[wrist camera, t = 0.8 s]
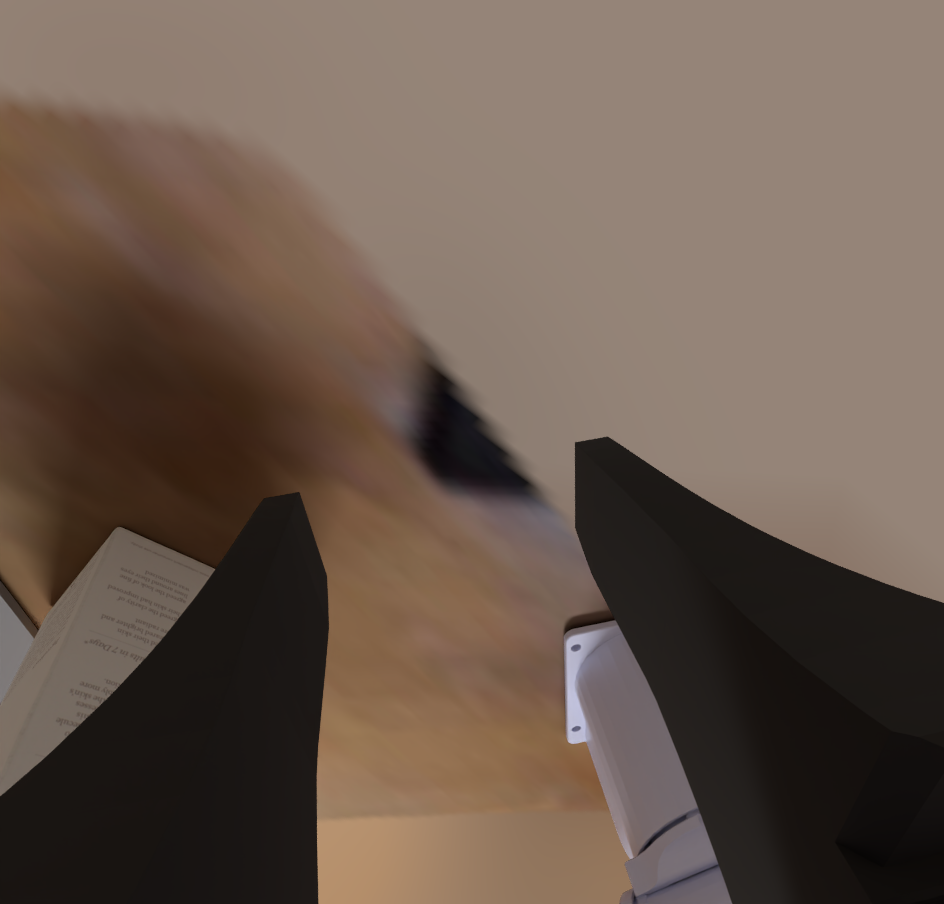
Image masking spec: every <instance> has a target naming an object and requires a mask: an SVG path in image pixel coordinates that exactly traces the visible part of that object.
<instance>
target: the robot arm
mask: <svg viewBox="0 0 944 904" xmlns="http://www.w3.org/2000/svg"><path fill="white" fill-rule="evenodd" d="M575 528H576V531H577V534H578V537H579V540H580V543H581V546H582V549H583V551H584V554H585V557H586V560H587V562H588V565H589V567H590V570H591V573H592V575H593V577H594V579H595V581H596V583H597V585H598V587H599V589H600V591H601V593H602V595H603V597H604V599H605V601H606V603H607V605H608V607H609V609H610V611H611V613H612V615H613V616H614V618H615V620H614V621H609V622H604V623H599V624H594V625H589V626H584V627H580V628H575V629H571V630H569V631H568V632H567V633H566V634H565V635H564V666H565V713H566V737H567V740H568V742H569V743H572V744H575V743H580V742H585V741H586V742H587V745H588V748H589V751H590V754H591V757H592V760H593V763H594V766H595V769H596V771H597V774H598V777H599V780H600V783H601V786H602V789H603V792H604V795H605V798H606V801H607V803H608V806H609V809H610V812H611V815H612V818H613V821H614V824H615V826H616V829H617V832H618V835H619V838H620V841H621V843H622V845H623V847H624V850H625V851H626V853H627V855H628V856H629V858H630V860H628V861H626V862H625V866H626V870H627V872H628V875H629V878H630V881H631V884H632V887H633V889H630V890H628V891H626V892H624V893H623V894H622V896H621V898H620V903H619V904H944V603H942V602H939V601H936V600H932V599H929V598H926V597H923V596H920V595H917V594H914V593H911V592H908V591H905V590H902V589H900V588H896V587H894V586H891V585H888V584H885V583H882V582H880V581H877V580H875V579H872V578H869V577H867V576H864V575H862V574H859V573H856V572H854V571H851V570H848V569H846V568H843V567H841V566H838V565H836V564H833V563H831V562H828V561H826V560H824V559H821V558H819V557H817V556H814V555H812V554H810V553H807V552H805V551H803V550H801V549H799V548H797V547H794V546H792V545H790V544H788V543H786V542H784V541H782V540H779V539H777V538H775V537H773V536H771V535H769V534H767V533H765V532H763V531H761V530H759V529H757V528H755V527H753V526H751V525H749V524H747V523H745V522H743V521H742V520H740V519H738V518H736V517H735V516H733V515H731V514H729V513H727V512H725V511H724V510H722V509H720V508H718V507H716V506H715V505H713V504H711V503H710V502H708V501H706V500H705V499H703V498H701V497H700V496H698V495H696V494H695V493H693V492H691V491H690V490H688V489H687V488H685V487H683V486H682V485H680V484H679V483H677V482H675V481H674V480H672V479H671V478H669V477H668V476H666V475H665V474H663V473H662V472H660V471H659V470H657V469H656V468H654V467H653V466H651V465H650V464H648V463H647V462H645V461H644V460H642V459H641V458H639V457H638V456H636V455H635V454H633V453H632V452H630V451H629V450H627V449H626V448H624V447H623V446H621V445H620V444H618V443H617V442H615V441H614V440H612V439H611V438H609V437H603V438H598V439H593V440H586V441H581V442H575ZM328 631H329V616H328V589H327V575H326V572H325V569H324V566H323V562H322V559H321V556H320V553H319V550H318V547H317V544H316V541H315V538H314V535H313V532H312V529H311V526H310V523H309V520H308V517H307V514H306V511H305V508H304V505H303V502H302V499H301V496H300V493H299V492H297V493H292V494H286V495H280V496H275V497H269V498H264V499H263V501H262V502H261V503H260V505H259V506H258V507H257V509H256V510H255V512H254V513H253V515H252V516H251V518H250V519H249V521H248V522H247V524H246V525H245V527H244V528H243V530H242V531H241V533H240V534H239V536H238V537H237V539H236V540H235V542H234V543H233V545H232V546H231V548H230V549H229V551H228V552H227V553H226V555H225V556H224V558H223V559H222V561H221V562H220V563H219V565H218V566H217V568H216V569H215V570H214V572H213V573H212V575H211V576H210V577H209V579H208V580H207V582H206V583H205V585H204V586H203V587H202V589H201V590H200V591H199V593H198V594H197V595H196V597H195V598H194V599H193V601H192V602H191V603H190V604H189V606H188V607H187V608H186V609H185V611H184V612H183V613H182V615H181V616H180V617H179V618H178V620H177V621H176V622H175V623H174V625H173V626H172V627H171V628H170V630H169V631H168V632H167V634H166V635H165V636H164V637H163V638H162V640H161V641H160V642H159V643H158V644H157V645H156V647H155V648H154V649H153V650H152V651H151V652H150V653H149V654H148V656H147V657H146V658H145V659H144V660H143V661H142V662H141V663H140V664H139V665H138V666H137V668H136V669H135V670H134V671H133V672H132V673H131V674H130V675H129V676H128V677H127V678H126V679H125V680H124V681H123V683H122V684H121V685H120V686H119V687H118V688H117V689H116V690H115V691H114V692H113V693H112V694H111V695H110V696H109V697H108V698H107V699H106V700H105V701H104V702H103V703H102V704H101V705H100V706H99V707H98V708H97V709H96V710H95V711H93V712H92V713H91V714H90V715H89V716H88V717H87V718H86V719H85V720H84V721H83V722H82V723H81V724H80V725H79V726H78V727H77V728H76V729H75V730H74V731H72V732H71V733H70V734H69V735H68V736H67V737H66V738H65V739H64V740H63V741H62V742H61V743H60V744H59V745H58V746H57V747H56V748H55V749H54V750H53V751H51V752H50V753H49V754H48V755H47V756H46V757H45V758H44V759H43V760H42V761H40V762H39V763H38V764H37V765H36V766H35V767H34V768H32V769H31V770H30V771H29V772H28V773H27V774H25V775H24V776H23V777H22V778H21V779H20V780H19V781H17V782H16V783H15V784H14V785H13V786H12V787H10V788H9V789H8V790H7V791H6V792H5V793H3V794H2V795H1V796H0V904H318V869H317V868H318V867H317V757H318V742H319V731H320V720H321V710H322V699H323V688H324V678H325V667H326V655H327V644H328Z"/></svg>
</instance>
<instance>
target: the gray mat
mask: <svg viewBox="0 0 944 904" xmlns="http://www.w3.org/2000/svg"><path fill="white" fill-rule="evenodd" d="M37 633H38V630H37V628H36V627H35V626H34V624H33V623H32V622H31V620H30V619H29V618H28V616H27V615H26V614H25V612H24V611H23V610H22V609H21V607H20V606H19V605H18V603H17V602H16V601H15V599H14V598H13V597H12V595H11V594H10V593H9V591H8V590H7V589H6V588H5V586H4V585H3V584H2V582H1V581H0V705H1V703H2V701H3V699H4V697H5V695H6V693H7V691H8V689H9V687H10V685H11V683H12V681H13V679H14V677H15V675H16V673H17V671H18V669H19V667H20V665H21V664H22V662H23V660H24V658H25V656H26V654H27V652H28V650H29V648H30V646H31V644H32V642H33V640H34V638H35V636H36V635H37Z"/></svg>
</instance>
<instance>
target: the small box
mask: <svg viewBox="0 0 944 904" xmlns="http://www.w3.org/2000/svg"><path fill="white" fill-rule="evenodd" d="M214 570H215V569H214V568H212V567H210V566H208V565H205V564H203V563H201V562H199V561H196V560H194V559H192V558H190V557H187V556H185V555H183V554H181V553H178V552H176V551H174V550H172V549H169V548H167V547H164V546H162V545H160V544H158V543H156V542H153V541H151V540H149V539H146V538H144V537H142V536H140V535H138V534H135V533H133V532H131V531H129V530H127V529H124V528H122V527H117V528H116V529H115V530H114V531H113V532H112V533H111V535H110V536H109V537H108V539H107V540H106V541H105V542H104V544H103V545H102V546H101V547H100V549H99V550H98V551H97V552H96V554H95V555H94V556H93V557H92V559H91V560H90V561H89V562H88V564H87V565H86V566H85V567H84V569H83V570H82V571H81V572H80V574H79V575H78V576H77V577H76V579H75V580H74V581H73V582H72V584H71V585H70V586H69V587H68V589H67V590H66V591H65V592H64V594H63V595H62V596H61V597H60V599H59V600H58V601H57V602H56V604H55V605H54V606H53V607H52V609H51V610H50V611H49V612H48V614H47V615H46V617H45V619H44V621H43V623H42V625H41V627H40V629H39V631H38V633H37V635H36V636H35V638H34V640H33V642H32V644H31V646H30V648H29V650H28V652H27V654H26V656H25V658H24V660H23V662H22V664H21V665H20V667H19V669H18V671H17V673H16V675H15V677H14V679H13V681H12V683H11V685H10V687H9V689H8V691H7V693H6V695H5V697H4V699H3V701H2V703H1V705H0V796H1V795H2V794H3V793H5V792H6V791H7V790H8V789H9V788H10V787H12V786H13V785H14V784H15V783H16V782H17V781H19V780H20V779H21V778H22V777H23V776H24V775H25V774H27V773H28V772H29V771H30V770H31V769H32V768H34V767H35V766H36V765H37V764H38V763H39V762H40V761H42V760H43V759H44V758H45V757H46V756H47V755H48V754H49V753H50V752H51V751H53V750H54V749H55V748H56V747H57V746H58V745H59V744H60V743H61V742H62V741H63V740H64V739H65V738H66V737H67V736H68V735H69V734H70V733H71V732H72V731H74V730H75V729H76V728H77V727H78V726H79V725H80V724H81V723H82V722H83V721H84V720H85V719H86V718H87V717H88V716H89V715H90V714H91V713H92V712H93V711H95V710H96V709H97V708H98V707H99V706H100V705H101V704H102V703H103V702H104V701H105V700H106V699H107V698H108V697H109V696H110V695H111V694H112V693H113V692H114V691H115V690H116V689H117V688H118V687H119V686H120V685H121V684H122V683H123V681H124V680H125V679H126V678H127V677H128V676H129V675H130V674H131V673H132V672H133V671H134V670H135V669H136V668H137V666H138V665H139V664H140V663H141V662H142V661H143V660H144V659H145V658H146V657H147V656H148V654H149V653H150V652H151V651H152V650H153V649H154V648H155V647H156V645H157V644H158V643H159V642H160V641H161V640H162V638H163V637H164V636H165V635H166V634H167V632H168V631H169V630H170V628H171V627H172V626H173V625H174V623H175V622H176V621H177V620H178V618H179V617H180V616H181V615H182V613H183V612H184V611H185V609H186V608H187V607H188V606H189V604H190V603H191V602H192V601H193V599H194V598H195V597H196V595H197V594H198V593H199V591H200V590H201V589H202V587H203V586H204V585H205V583H206V582H207V580H208V579H209V577H210V576H211V575H212V573H213V572H214Z"/></svg>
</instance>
